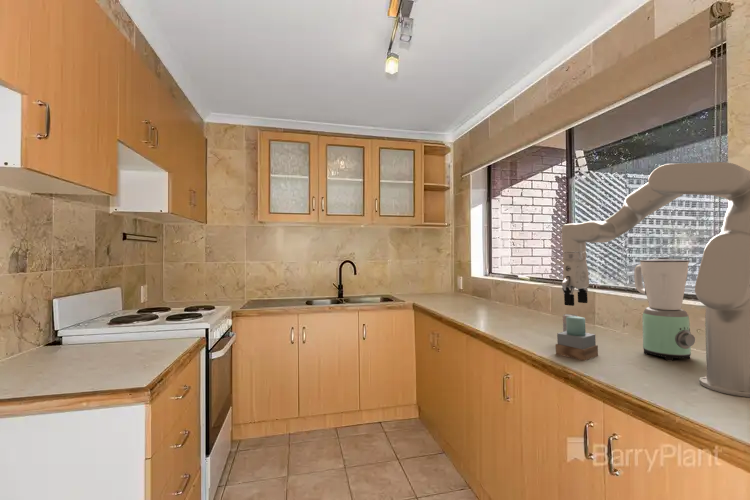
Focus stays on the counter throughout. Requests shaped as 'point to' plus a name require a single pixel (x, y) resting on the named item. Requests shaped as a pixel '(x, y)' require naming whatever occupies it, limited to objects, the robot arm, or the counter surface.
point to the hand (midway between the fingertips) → (576, 304)
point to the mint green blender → (664, 307)
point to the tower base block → (577, 352)
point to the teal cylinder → (575, 326)
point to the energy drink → (565, 321)
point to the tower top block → (576, 340)
